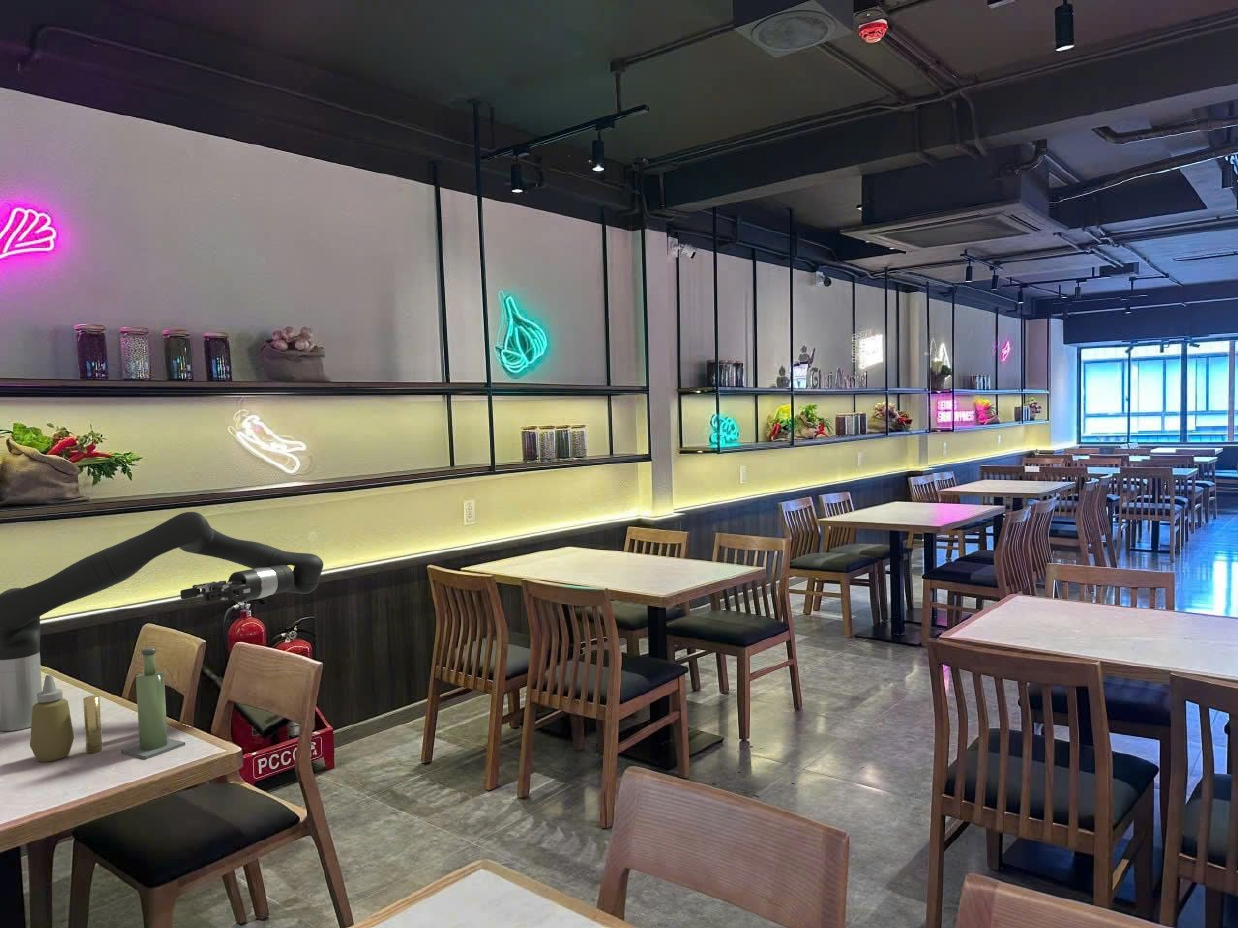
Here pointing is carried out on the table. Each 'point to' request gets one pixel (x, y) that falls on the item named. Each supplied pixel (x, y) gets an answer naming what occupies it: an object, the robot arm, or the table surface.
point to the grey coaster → (147, 754)
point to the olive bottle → (151, 704)
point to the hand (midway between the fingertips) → (192, 596)
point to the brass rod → (92, 724)
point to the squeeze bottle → (51, 724)
